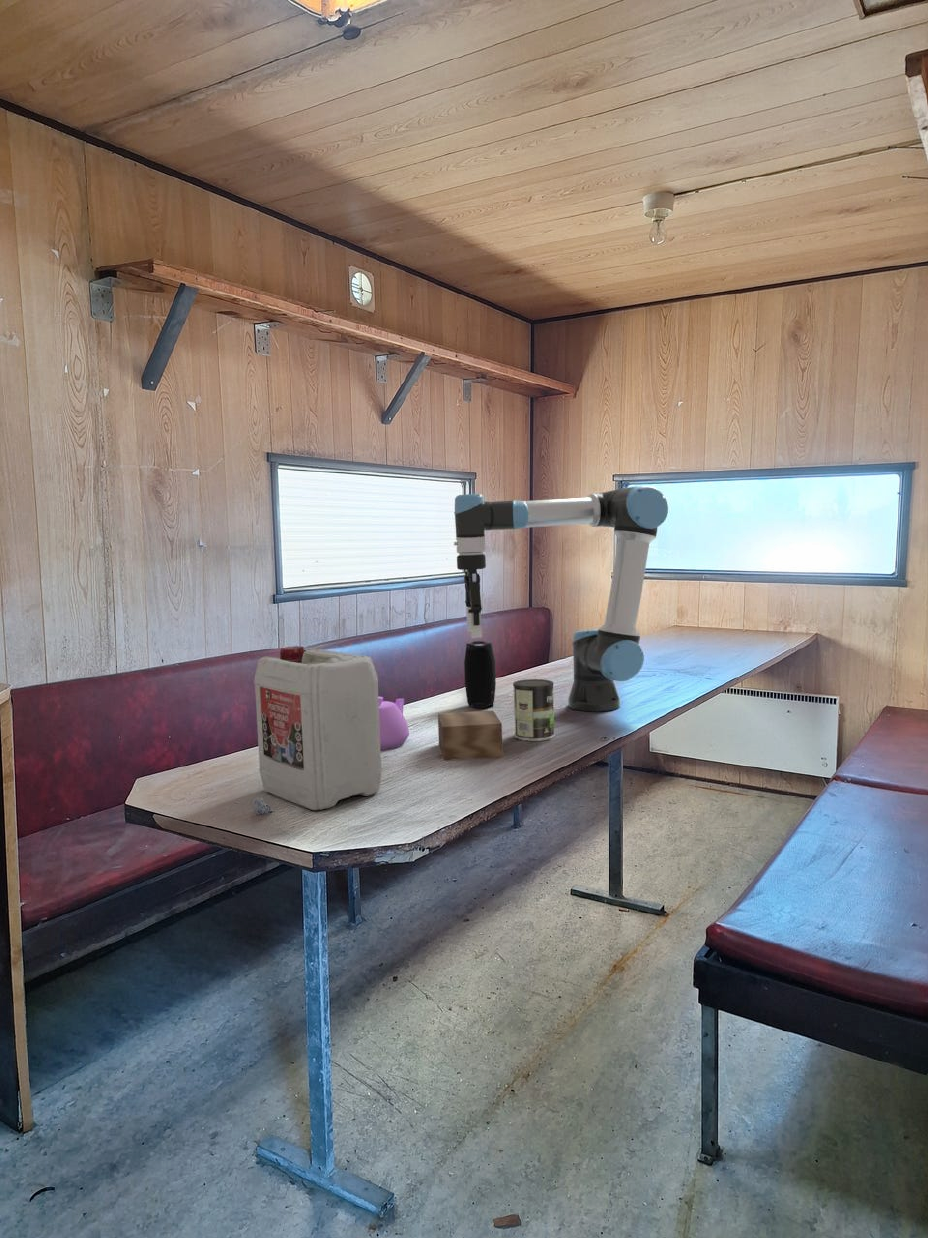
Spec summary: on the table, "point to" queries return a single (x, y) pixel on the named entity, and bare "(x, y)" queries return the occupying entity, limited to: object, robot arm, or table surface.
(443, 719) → the walnut block
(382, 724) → the teapot
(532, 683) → the coffee can
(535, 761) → the table surface
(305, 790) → the jerry can
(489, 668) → the portable speaker
